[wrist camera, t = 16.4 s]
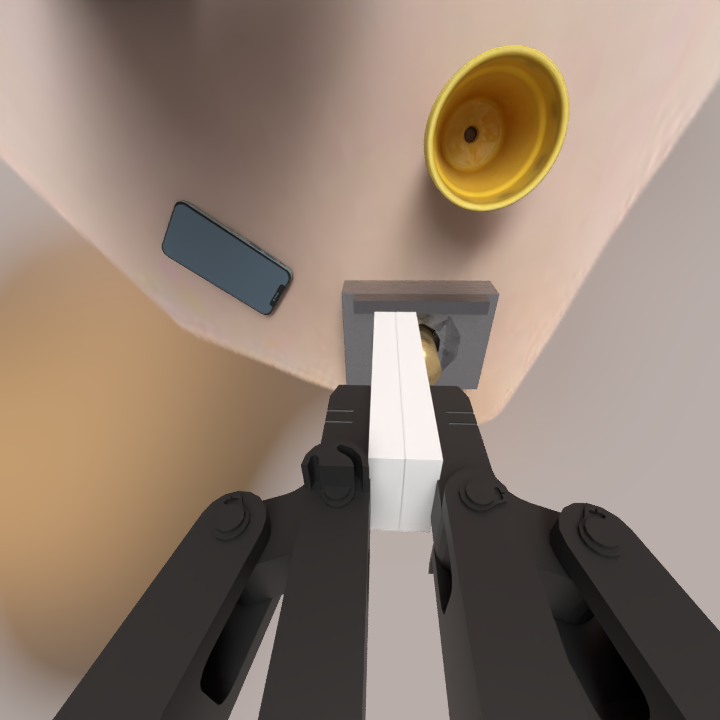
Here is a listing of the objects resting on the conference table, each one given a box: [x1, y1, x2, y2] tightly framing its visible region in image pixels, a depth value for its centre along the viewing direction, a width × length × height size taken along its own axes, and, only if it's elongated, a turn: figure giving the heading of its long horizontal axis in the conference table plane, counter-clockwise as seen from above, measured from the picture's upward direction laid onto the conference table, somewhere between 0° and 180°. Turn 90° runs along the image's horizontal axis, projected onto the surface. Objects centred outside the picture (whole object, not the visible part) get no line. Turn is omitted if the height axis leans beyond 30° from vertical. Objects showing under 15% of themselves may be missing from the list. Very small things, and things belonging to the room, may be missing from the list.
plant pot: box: [424, 45, 569, 212], centre depth 29 cm, size 10×10×10 cm
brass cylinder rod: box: [418, 324, 441, 386], centre depth 42 cm, size 5×5×10 cm
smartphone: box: [162, 201, 293, 315], centre depth 42 cm, size 8×2×15 cm
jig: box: [342, 281, 499, 389], centre depth 43 cm, size 18×14×6 cm
